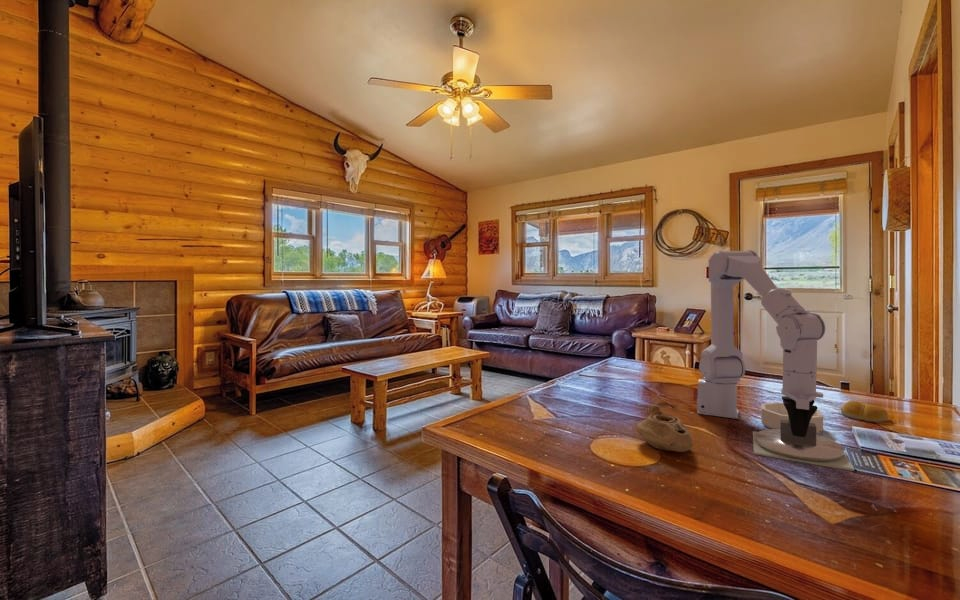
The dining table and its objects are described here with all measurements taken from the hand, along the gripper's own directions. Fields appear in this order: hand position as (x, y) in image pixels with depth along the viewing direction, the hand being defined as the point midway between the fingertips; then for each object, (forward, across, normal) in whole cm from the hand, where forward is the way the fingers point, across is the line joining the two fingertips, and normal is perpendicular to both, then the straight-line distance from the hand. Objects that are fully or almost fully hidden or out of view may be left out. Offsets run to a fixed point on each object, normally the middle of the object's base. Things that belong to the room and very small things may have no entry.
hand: (798, 433), depth 91 cm
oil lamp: (+4, -12, +24) cm, 27 cm away
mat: (+3, 0, 0) cm, 3 cm away
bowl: (+3, +17, 0) cm, 17 cm away
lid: (+3, 0, 0) cm, 3 cm away
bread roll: (+4, +34, -17) cm, 38 cm away
